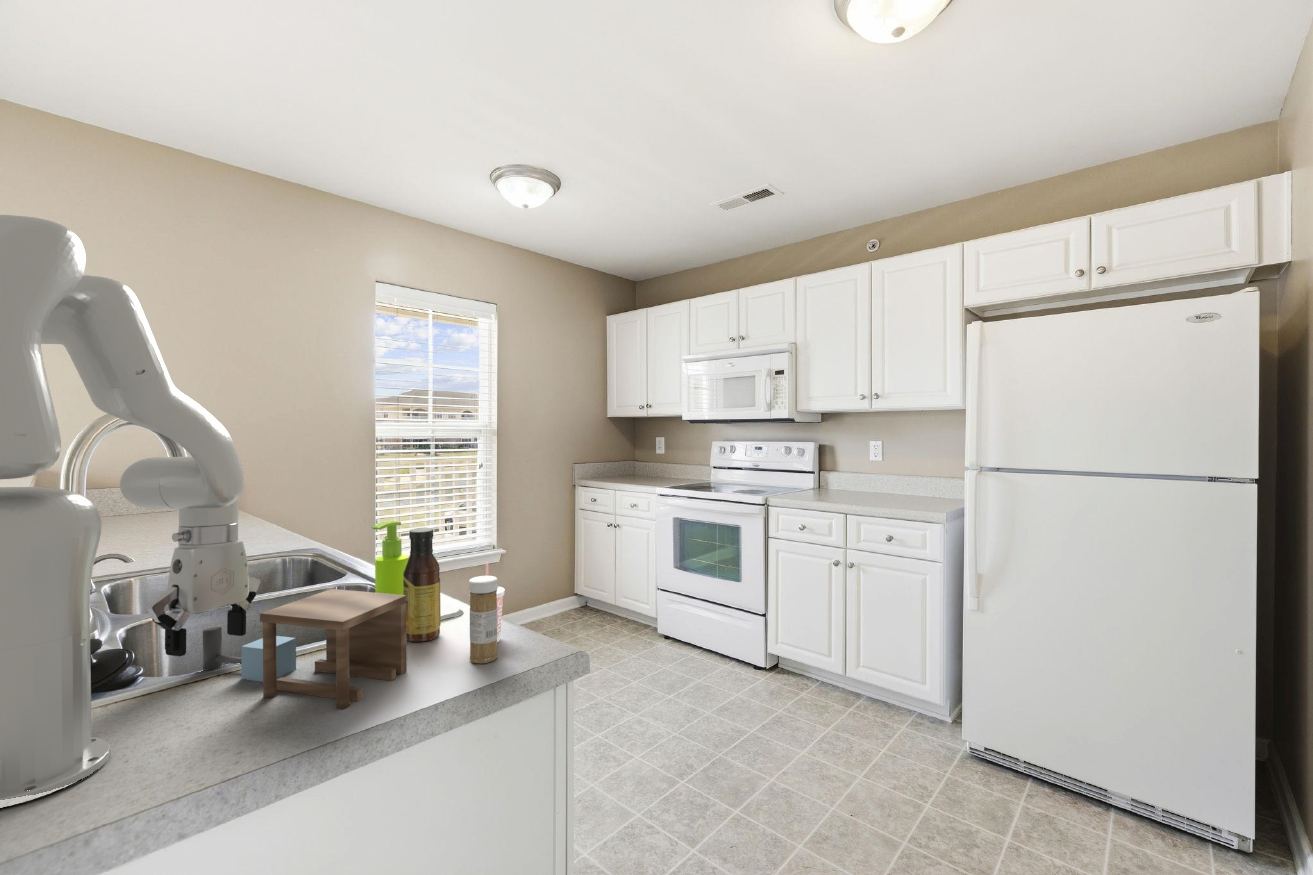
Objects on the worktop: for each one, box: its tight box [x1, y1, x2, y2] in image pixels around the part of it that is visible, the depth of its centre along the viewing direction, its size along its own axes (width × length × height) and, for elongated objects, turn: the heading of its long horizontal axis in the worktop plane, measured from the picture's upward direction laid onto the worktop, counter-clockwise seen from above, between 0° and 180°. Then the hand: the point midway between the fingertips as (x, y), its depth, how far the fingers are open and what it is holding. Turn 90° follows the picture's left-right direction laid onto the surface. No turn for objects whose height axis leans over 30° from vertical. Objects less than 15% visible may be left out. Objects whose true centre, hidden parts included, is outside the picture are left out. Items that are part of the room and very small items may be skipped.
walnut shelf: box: [259, 588, 408, 710], centre depth 88 cm, size 13×14×12 cm
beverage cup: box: [468, 562, 505, 643], centre depth 106 cm, size 6×6×14 cm
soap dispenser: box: [371, 520, 409, 595], centre depth 114 cm, size 6×7×20 cm
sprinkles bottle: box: [468, 575, 499, 664], centre depth 97 cm, size 5×5×14 cm
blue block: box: [202, 626, 297, 683], centre depth 93 cm, size 5×15×6 cm, turn 77°
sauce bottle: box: [403, 527, 442, 643], centre depth 107 cm, size 7×6×20 cm
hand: (207, 644), depth 93 cm, fingers open, 9 cm apart
